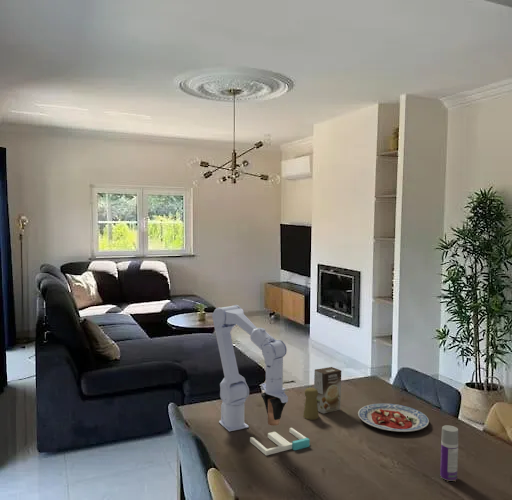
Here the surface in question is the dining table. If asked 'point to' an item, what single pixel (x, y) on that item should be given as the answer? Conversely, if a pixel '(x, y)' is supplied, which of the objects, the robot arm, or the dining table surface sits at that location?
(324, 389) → the coffee box
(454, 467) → the container
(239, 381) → the robot arm
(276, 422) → the peg
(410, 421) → the ceramic plate
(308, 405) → the olive yellow shaker
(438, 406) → the dining table surface
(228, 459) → the dining table surface
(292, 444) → the slot rack
